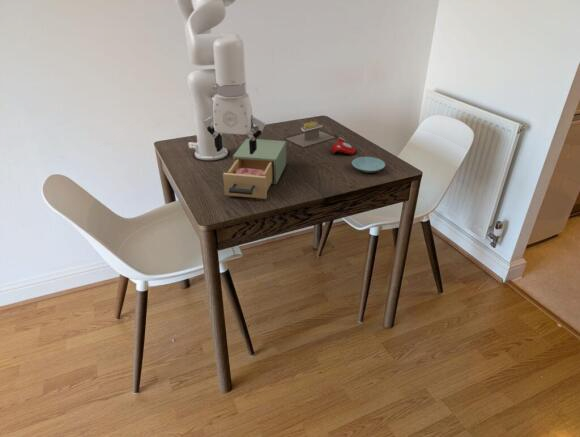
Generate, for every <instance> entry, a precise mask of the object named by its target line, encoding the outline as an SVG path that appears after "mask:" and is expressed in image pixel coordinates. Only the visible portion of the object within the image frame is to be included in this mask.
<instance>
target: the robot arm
mask: <svg viewBox="0 0 580 437" xmlns="http://www.w3.org/2000/svg"><path fill="white" fill-rule="evenodd" d="M174 1H175V5H176V7H177V9H178V11H179V14H180V15H181V18H182V21H183V26H184V31H185V32H184V35H185V36H184V37H185V41H186V46H187V47H186V48H187V54H188V58H189V61H190V63H191V64H192V65H194V66H200V67H203V66H214V68H205V69H196V70H193V71H191V72H190V73H189V74H188V76H187V87H188V90H189V94H190V98H191V102H192V108H193V109H192V110H193V117H194V126H195V133H196V134H195V135H196V142H194V141H193V142H192V141H189V142H188V143H187V146H188V149H189V150H195V151H194V157H195V158H196V159H198V160H201V161H218V160H221V159H223V158H225V157H227V156H228V153H229V151H228V149H227V148H226V147H224V140H223V139H224V138H223V134H225V135H240V136H244V135H245V136H246V135H247V137H248V139H251V140H250V141H249V148H250V154H253V153H254V152H255V151H256V150H257V141H256V139H258V138H259V137H260V136H261V135H262V133H263V132H264V130H265V128H266V123H265V122H263V121H262V120H260V119H258V118H256V117H255V116H254V112H253V107H252V101H251V99H250V95H249V93H247V80H246V77H247V76H246V61H245V44H244V41H243V38H241V36H240V35H239V34H237V33H235V32H220V33H219V32H216V33H215V32H214V33H212V29H213V28H215V27H217V26H219V25H220V24H221V23H222V22H223V21H224V19H225V17H226V15H227V14H226V13H227V12H226V8H227V7H229V6H230V5H233V4H234V3H235V2H236V0H174ZM254 125H255V126H256V127H257V131H255V129H254Z"/></svg>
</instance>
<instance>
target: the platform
mask: <svg viewBox="0 0 580 437" xmlns="http://www.w3.org/2000/svg"><path fill="white" fill-rule="evenodd" d="M320 128H323V124H320V123H318V122H317V121H316V122H315V121H310V122H306V123H303V126H301V127H300V129H301V131H303V133H300V134H296V135H293V136H289V137H286V138H285V140H287V141H289V142H291V143H293V144H296V145H297V146H300V147H302V148H304V147H308V146H311V145H315V144H318V143H322V142H324V141H328V140H332V139H335V138H336V136H333V135H331V134H329V133H328V132H327V133H326V132H325V131H322V130H320Z"/></svg>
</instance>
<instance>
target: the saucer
mask: <svg viewBox="0 0 580 437" xmlns="http://www.w3.org/2000/svg"><path fill="white" fill-rule="evenodd" d="M351 165H352V166H353V168H354V169H356V170H357V171H360V172H361V173H366V174H373V173H376V172H379V171H381V170H383V169H384V168H385V166H386V163H385V162H384V161H383V160H381V159H380V158H377V157H374V156H360V157H356V158H354V159H353V160H352V161H351Z"/></svg>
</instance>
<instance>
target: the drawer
mask: <svg viewBox="0 0 580 437" xmlns="http://www.w3.org/2000/svg"><path fill="white" fill-rule="evenodd" d="M239 168H249V169H260V170H263V171H264V173H263V176H258V175H246V174H235V170H237V169H239ZM222 177H223V188H224V189H223V190H224V195H225V196H232V197H243V198H252V199H253V198H254V199H263V200H264V199H265V200H266V199H267V198H268V194H267V193H268V191H269V188H270V187H271V185H272V184H271V183H272V181H273V179H274V161H262V160H249V159H237V160H236V161H235V163H234V164H233V163H232V165H231V167H230V168H229V169H228V171H227V172H223V174H222Z"/></svg>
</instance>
